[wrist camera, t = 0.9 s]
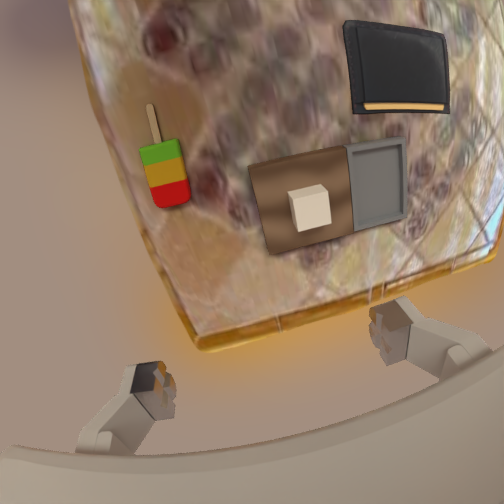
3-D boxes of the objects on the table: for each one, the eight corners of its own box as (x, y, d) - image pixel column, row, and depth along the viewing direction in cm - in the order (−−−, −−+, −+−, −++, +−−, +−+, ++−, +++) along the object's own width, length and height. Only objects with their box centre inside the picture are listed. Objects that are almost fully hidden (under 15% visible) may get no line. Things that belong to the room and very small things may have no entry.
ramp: (247, 165, 42) (249, 169, 40) (340, 145, 42) (345, 148, 40) (267, 248, 49) (269, 255, 48) (348, 227, 49) (353, 233, 47)
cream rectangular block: (287, 191, 43) (292, 199, 40) (320, 184, 42) (327, 191, 40) (293, 222, 45) (298, 231, 43) (324, 214, 45) (331, 223, 43)
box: (342, 145, 42) (346, 147, 40) (400, 136, 42) (405, 138, 40) (350, 227, 49) (354, 231, 48) (402, 213, 49) (407, 217, 48)
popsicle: (157, 206, 44) (155, 211, 42) (131, 109, 36) (127, 110, 34) (193, 197, 44) (192, 202, 42) (169, 98, 36) (167, 98, 34)
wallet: (450, 34, 31) (454, 118, 39) (443, 34, 33) (447, 116, 41) (344, 14, 30) (353, 115, 38) (339, 17, 32) (348, 113, 40)
